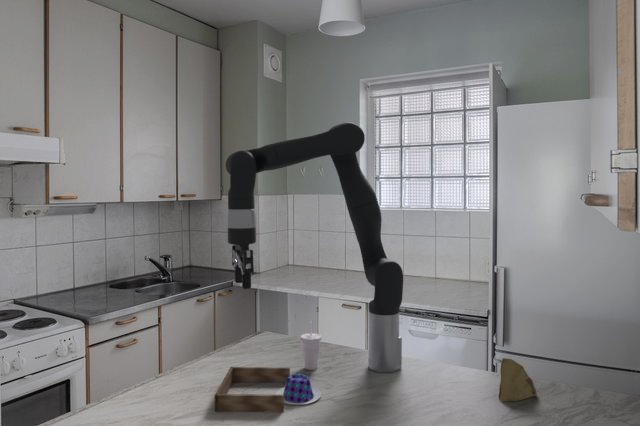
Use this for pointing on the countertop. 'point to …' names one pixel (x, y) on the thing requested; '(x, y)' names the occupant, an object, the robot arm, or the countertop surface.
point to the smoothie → (311, 348)
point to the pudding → (299, 390)
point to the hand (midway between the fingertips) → (242, 285)
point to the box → (251, 400)
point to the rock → (515, 382)
